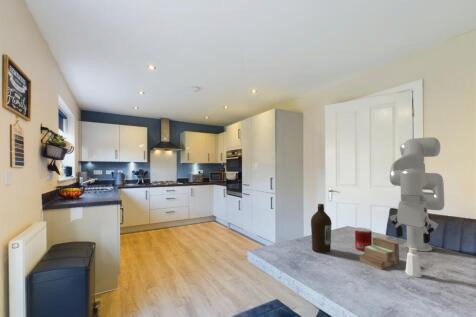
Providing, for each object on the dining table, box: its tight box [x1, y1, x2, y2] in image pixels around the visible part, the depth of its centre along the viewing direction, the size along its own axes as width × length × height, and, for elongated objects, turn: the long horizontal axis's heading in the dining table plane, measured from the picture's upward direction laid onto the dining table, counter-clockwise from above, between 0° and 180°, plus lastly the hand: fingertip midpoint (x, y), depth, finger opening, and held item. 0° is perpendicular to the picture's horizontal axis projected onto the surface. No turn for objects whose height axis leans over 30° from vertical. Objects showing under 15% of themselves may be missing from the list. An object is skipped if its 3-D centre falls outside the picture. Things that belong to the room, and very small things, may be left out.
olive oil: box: [310, 203, 333, 254], centre depth 124 cm, size 11×11×25 cm
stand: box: [359, 236, 400, 271], centre depth 108 cm, size 15×11×10 cm
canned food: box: [354, 227, 373, 253], centre depth 125 cm, size 8×8×11 cm
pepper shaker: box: [405, 247, 422, 278], centre depth 96 cm, size 5×5×11 cm
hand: (412, 239), depth 96 cm, fingers open, 9 cm apart
